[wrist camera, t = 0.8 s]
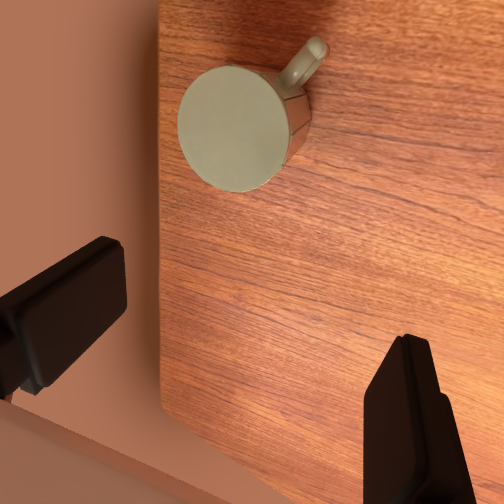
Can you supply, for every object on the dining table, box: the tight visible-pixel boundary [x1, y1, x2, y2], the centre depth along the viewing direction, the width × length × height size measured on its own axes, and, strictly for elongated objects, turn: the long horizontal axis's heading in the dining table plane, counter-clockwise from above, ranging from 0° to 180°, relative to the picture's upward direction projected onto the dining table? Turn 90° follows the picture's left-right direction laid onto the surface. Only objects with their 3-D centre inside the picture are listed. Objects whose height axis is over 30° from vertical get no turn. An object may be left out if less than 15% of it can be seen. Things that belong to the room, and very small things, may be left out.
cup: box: [177, 36, 330, 192], centre depth 21 cm, size 7×10×8 cm
